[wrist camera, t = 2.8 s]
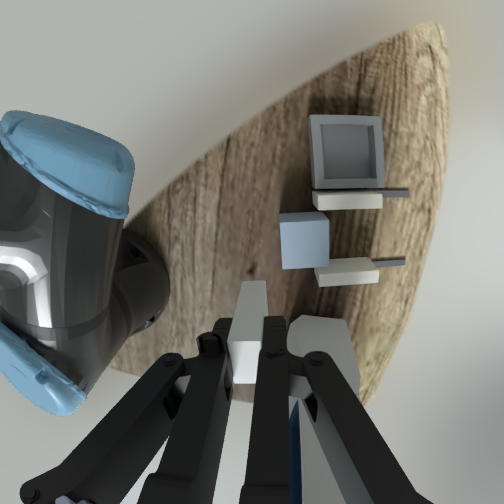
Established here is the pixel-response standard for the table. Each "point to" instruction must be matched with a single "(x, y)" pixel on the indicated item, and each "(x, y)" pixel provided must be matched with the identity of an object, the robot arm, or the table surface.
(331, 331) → the electronic device
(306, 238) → the block
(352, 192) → the channel
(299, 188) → the table surface
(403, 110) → the table surface
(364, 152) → the tray
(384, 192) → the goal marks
